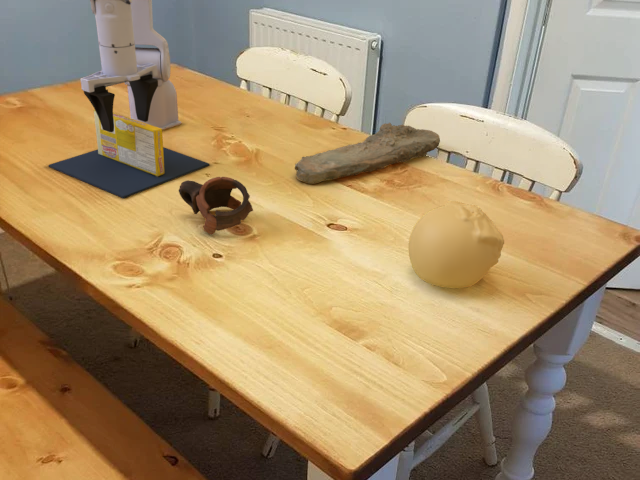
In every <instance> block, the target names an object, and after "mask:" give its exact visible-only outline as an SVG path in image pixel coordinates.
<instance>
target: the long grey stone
mask: <svg viewBox="0 0 640 480" xmlns="http://www.w3.org/2000/svg"><path fill="white" fill-rule="evenodd" d="M440 143H441V137H440V135H439V133H437V132H435V131H433V130H429V129H424V128H423V129H419V128H416V127H413V126H411V125H405V124H399V125H394V124H392V123H391V122H388V123H383V124H381V126H380V127H379V130H378V131H377V132H375V134H370V135H368V136H367V137H366V138H365V140H364V141H362V142H357V143H353V144H348V145H343V146H340V147H337V148H333V149H328V150H326V151H323V152H318V153H315V154H313V155H308V156H302V157H301V159H300V160H299V161H297V162H296V163H295V164H294V170H295V171H296V174H295V175H296V178H297V179H298V181H301V182H304V183H307V184H308V185H312V184H314V185H315V184H320V183H321V182H326V181H328V180H336V179H339V178H346V177H349V176H358V175H359V174H361V173H362V174H363V173H368V172H369V173H371V172H374V171H378V170H382V169H385V168H386V167H388V166H390V165H394V164H398V163H404V162H408V161H410V160H412V159H416V158H422V157H425V156H426V155H428V153H430V152H431V151H435V149H437V148H438V147H439V146H440Z"/></svg>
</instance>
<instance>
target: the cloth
mask: <svg viewBox="0 0 640 480" xmlns="http://www.w3.org/2000/svg"><path fill="white" fill-rule="evenodd" d="M163 154H164V174H163V175H160V176H158V177H157V176H155V175H153V174H150V173H147V172H145V171H142V170H139V169H137V168H134V167H132V166H129V165H127V164H124V163H121V162H119V161H116V160H113V159H111V158H108V157H105V156H103V155H100V154H98V149H94V150H92V151H88V152H85V153H82V154H79V155H76V156H75V155H74V156H73V157H69V158H66V159H63V160H60V161H56V162H53V163H50V164H48V168H50V169H53V170H55V171H58V172H60V173H62V174H65V175H66V176H69V177H72V178H74V179H76V180H79V181H81V182H84V183H86V184H88V185H90V186H93V187H95V188H98V189H100V190H102V191H105V192H107V193H110V194H112V195H114V196H116V197H118V198H121V199H126V198H129V197H131V196H134V195H137V194H140V193H141V192H144V191H146V190H149V189H152V188H155V187H157V186H160V185H162V184H165V183H168V182H170V181H173V180H175V179H178V178H182V177H183V176H186V175H188V174H189V175H190V174H191V173H194V172H196V171H199V170H201V169H204V168H207V167H210V163H209V162H206V161H204V160H200V159H197V158H195V157H192V156H189V155H186V154H183V153H181V152H178V151H175V150H172V149H169V148H167V147H164V146H163Z"/></svg>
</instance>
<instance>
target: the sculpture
mask: <svg viewBox="0 0 640 480" xmlns="http://www.w3.org/2000/svg"><path fill="white" fill-rule="evenodd" d="M504 245H505V238H504V235H503V233H502V232H501V231H500V230H499V228H498V227H497V226H496V225H495V223H494V222H493V221H492V219H491V218H490V217H489V216H488V214H487V213H485V212H484V211H483V209H481V207H479V206H478V205H477V204H468V203H463V202H460V201H457V200H448V201H446V203H445V205H441V206H437V207H435V208H433V209H430V210H428V211H427V212H426V213H424V214H423V215H421V217H420V218H419V219H418V220H417V221H416V222H415V224H414V226H413V228H412V229H411V232H410V235H409V239H408V247H407V248H408V257H409V261H410V264H411V265H410V266H411V267H412V269H413V271H414V272H415V274H416V275H417V277H418V278H419V279H421V280H423V282H426V283H427V284H429V285H432V286H437V287H443V288H448V289H464V288H469V287H472V286H474V285H475V284H477V283H478V282H480V281H481V280H482V279H483V278H484V277H485V276H486V274H487V273H488V272H489V271H490V269H491V268H492V267H494V266H495V265H497V264H498V263H499V259H500V258H501V256H502V250H503V248H504Z"/></svg>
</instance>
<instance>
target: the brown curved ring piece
mask: <svg viewBox="0 0 640 480" xmlns="http://www.w3.org/2000/svg"><path fill="white" fill-rule="evenodd" d="M178 188H179V189H178V193H179V196H180V198H181V199H182V200H183V201H184V202H185V203H186V204H187V205H188V207H190V208H191V209H192V212H193V215H198V213H200V214H201V216H202V217H203V218H204V219H205V220H204V223H203V224H204V225H203V227H202V228H203V231H204V232H206V233H207V234H209V235H211V236H212V235H214V234H215V233H216V231H219V232H220V231H224V230H227V229H231V228H234V227H236V226H238V225H240V224H242V221H245V220H246V219H247V218H248V215H249V214H250V213H252V212H254V208H253V205H252V204H251V202H250V198H251V195H250V194H249V193H248V190H247V187H246V186H245V185H244V184H243V183H242V182H240V181H239V180H237V179H234V178H232V177H229V176H216V177H212V178H210V179H208V180H207V181H205V182H204V183H203V184H202V183H199V182H197V181H195V180H187V179H186V180H184V181H182V182H181V184H180V185H179V187H178ZM233 190H238V191H239V192H240V193H241V195H242V201H241V200H239V199H237V198H235V197H234V195H233V196H232V195H231V194H232V191H233ZM219 208H228V209H231V210H229V211H221V210H215V214H213V213H211V211H212V210H214V209H219Z"/></svg>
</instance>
